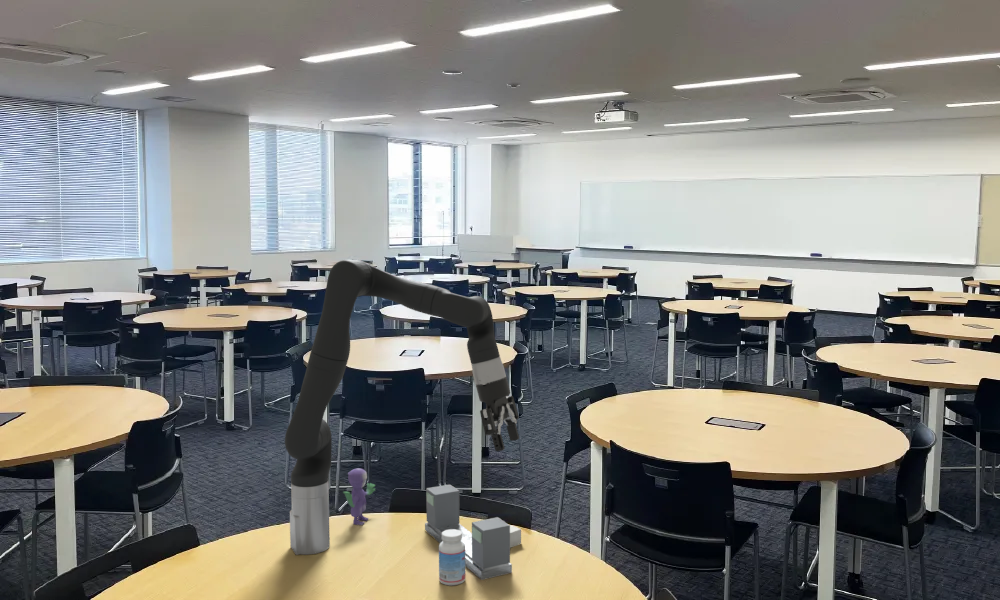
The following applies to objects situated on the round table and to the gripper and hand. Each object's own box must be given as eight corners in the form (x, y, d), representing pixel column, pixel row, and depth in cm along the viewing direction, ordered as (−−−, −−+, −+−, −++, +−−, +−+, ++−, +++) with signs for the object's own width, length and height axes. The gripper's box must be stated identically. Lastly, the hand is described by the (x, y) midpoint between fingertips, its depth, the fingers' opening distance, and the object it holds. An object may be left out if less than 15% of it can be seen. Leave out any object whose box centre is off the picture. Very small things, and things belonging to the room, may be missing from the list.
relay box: (504, 550, 187) (504, 535, 187) (493, 546, 190) (493, 530, 190) (521, 544, 191) (521, 529, 191) (510, 539, 194) (510, 524, 194)
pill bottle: (468, 584, 168) (468, 535, 167) (443, 588, 166) (442, 539, 165) (461, 573, 174) (460, 526, 173) (435, 577, 172) (435, 529, 171)
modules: (482, 569, 170) (482, 531, 170) (425, 521, 200) (425, 488, 199) (509, 562, 174) (509, 525, 173) (450, 516, 204) (450, 484, 203)
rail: (481, 579, 170) (481, 569, 170) (425, 530, 200) (424, 521, 200) (511, 572, 174) (511, 562, 174) (451, 524, 204) (451, 516, 204)
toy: (354, 534, 197) (353, 479, 196) (334, 533, 198) (333, 478, 197) (379, 510, 215) (378, 459, 214) (361, 509, 216) (360, 458, 215)
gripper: (489, 375, 183) (506, 439, 183) (463, 388, 170) (480, 456, 170) (516, 370, 180) (533, 434, 180) (491, 382, 167) (509, 452, 167)
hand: (507, 445), depth 175 cm, fingers open, 8 cm apart
